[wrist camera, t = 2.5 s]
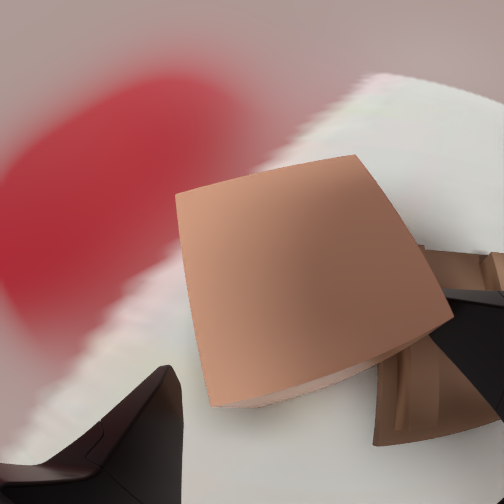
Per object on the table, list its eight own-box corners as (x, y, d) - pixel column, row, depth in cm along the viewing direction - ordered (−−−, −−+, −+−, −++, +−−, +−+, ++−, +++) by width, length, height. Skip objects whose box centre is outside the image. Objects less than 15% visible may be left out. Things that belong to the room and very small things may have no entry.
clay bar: (336, 383, 15) (454, 316, 4) (258, 407, 15) (210, 406, 4) (311, 314, 18) (355, 154, 7) (238, 335, 18) (175, 194, 7)
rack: (509, 414, 11) (533, 409, 9) (372, 444, 13) (390, 450, 10) (492, 262, 18) (509, 244, 16) (372, 252, 20) (384, 229, 18)
